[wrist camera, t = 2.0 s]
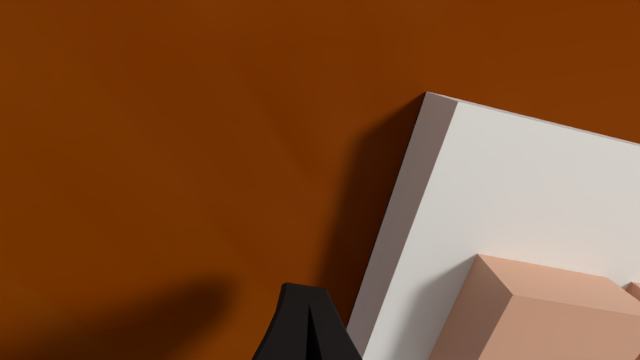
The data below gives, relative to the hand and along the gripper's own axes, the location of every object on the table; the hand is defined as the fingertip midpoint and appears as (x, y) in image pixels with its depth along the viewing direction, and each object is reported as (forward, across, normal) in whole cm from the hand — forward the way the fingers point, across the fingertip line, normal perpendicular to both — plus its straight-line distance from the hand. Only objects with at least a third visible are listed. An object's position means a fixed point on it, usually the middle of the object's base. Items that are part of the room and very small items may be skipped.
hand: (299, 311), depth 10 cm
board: (+4, -11, 0) cm, 11 cm away
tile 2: (+1, -8, 0) cm, 8 cm away
